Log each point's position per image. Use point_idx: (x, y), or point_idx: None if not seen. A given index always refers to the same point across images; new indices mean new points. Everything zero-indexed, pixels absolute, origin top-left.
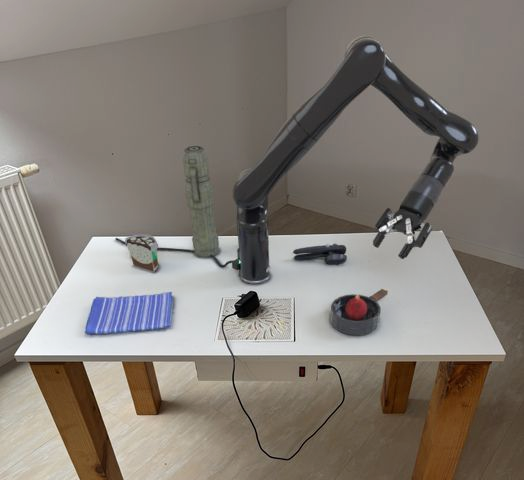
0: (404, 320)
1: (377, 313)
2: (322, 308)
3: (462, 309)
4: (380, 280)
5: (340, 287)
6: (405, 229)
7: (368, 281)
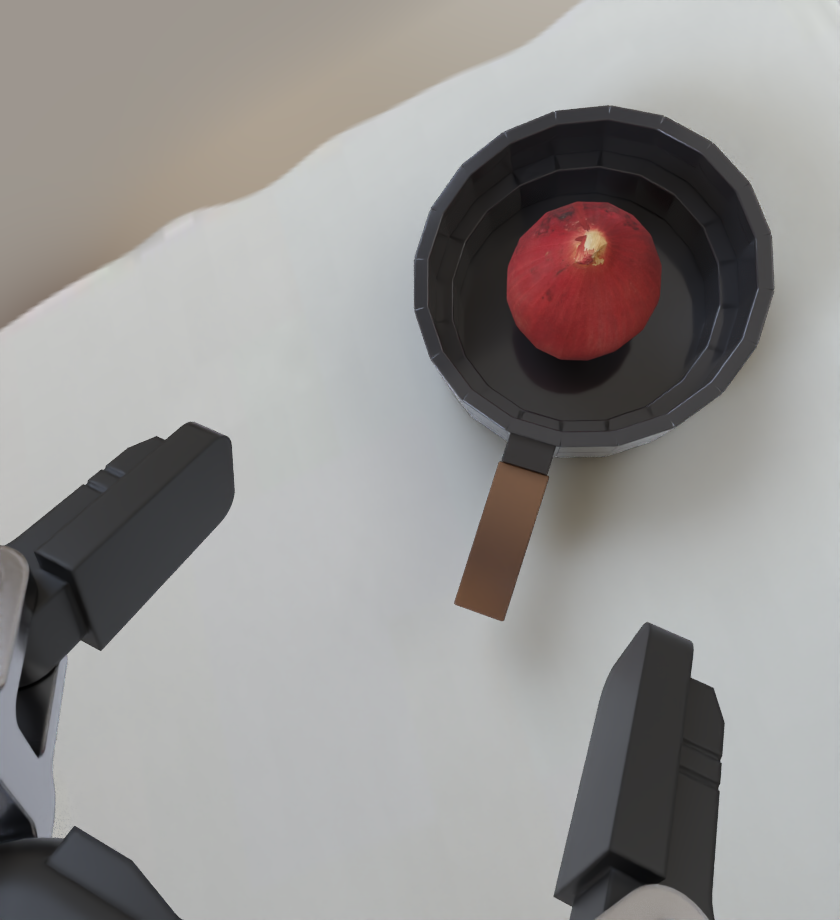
0: (317, 461)
1: (426, 279)
2: (835, 358)
3: None
4: None
5: (836, 668)
6: (16, 891)
7: None
